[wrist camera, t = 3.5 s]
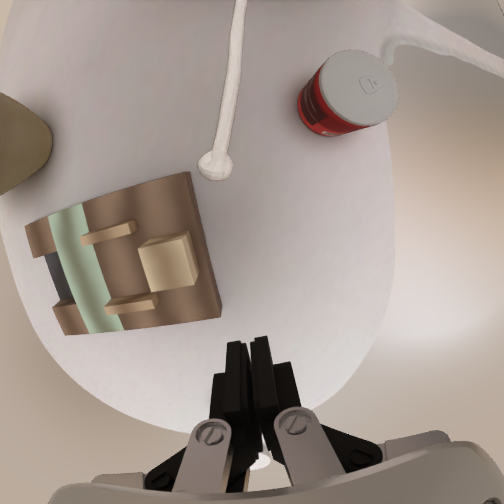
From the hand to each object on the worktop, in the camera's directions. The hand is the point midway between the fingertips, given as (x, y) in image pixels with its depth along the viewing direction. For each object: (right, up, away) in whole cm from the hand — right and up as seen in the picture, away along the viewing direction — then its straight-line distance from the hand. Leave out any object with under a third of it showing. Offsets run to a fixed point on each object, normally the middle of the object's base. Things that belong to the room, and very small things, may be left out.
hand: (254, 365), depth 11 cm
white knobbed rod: (-3, +27, +18) cm, 32 cm away
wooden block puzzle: (-19, +4, +23) cm, 30 cm away
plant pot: (-32, +20, +18) cm, 42 cm away
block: (-9, +4, +20) cm, 23 cm away
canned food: (+9, +23, +19) cm, 31 cm away
